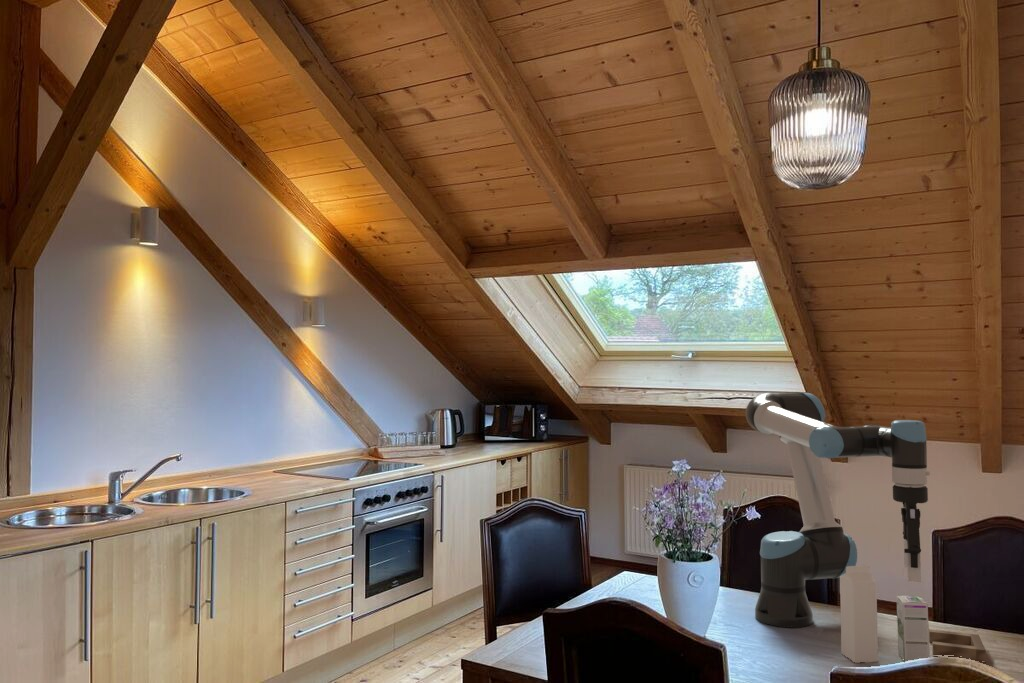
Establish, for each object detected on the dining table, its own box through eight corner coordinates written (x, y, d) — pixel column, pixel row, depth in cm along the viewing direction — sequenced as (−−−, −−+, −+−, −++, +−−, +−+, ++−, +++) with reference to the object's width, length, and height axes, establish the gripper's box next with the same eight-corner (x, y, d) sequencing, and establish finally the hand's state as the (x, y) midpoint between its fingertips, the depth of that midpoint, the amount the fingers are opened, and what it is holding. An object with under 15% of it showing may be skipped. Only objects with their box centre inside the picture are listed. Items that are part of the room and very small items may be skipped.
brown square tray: (933, 656, 190) (933, 644, 190) (929, 641, 200) (928, 629, 200) (986, 663, 185) (985, 650, 185) (979, 646, 196) (978, 634, 196)
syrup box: (931, 665, 184) (929, 603, 185) (903, 663, 185) (902, 601, 186) (923, 656, 190) (922, 595, 190) (897, 654, 191) (895, 594, 191)
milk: (878, 662, 186) (877, 568, 187) (854, 663, 186) (853, 569, 186) (863, 652, 193) (862, 562, 193) (840, 653, 192) (839, 563, 192)
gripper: (932, 493, 176) (935, 589, 175) (923, 478, 199) (925, 563, 198) (895, 491, 179) (897, 585, 178) (890, 477, 202) (892, 560, 201)
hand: (912, 574), depth 188 cm, fingers open, 13 cm apart
